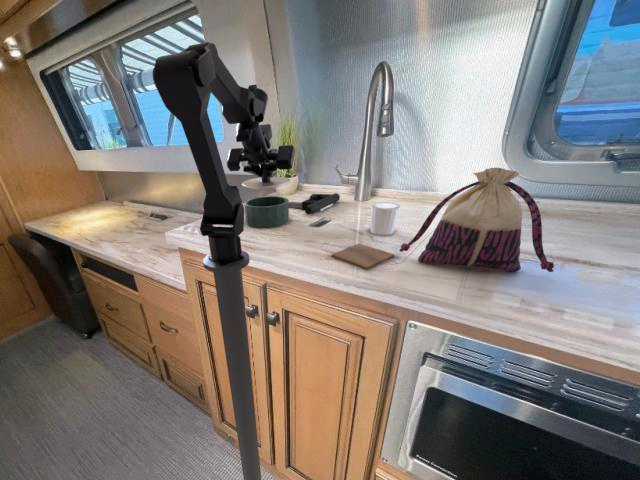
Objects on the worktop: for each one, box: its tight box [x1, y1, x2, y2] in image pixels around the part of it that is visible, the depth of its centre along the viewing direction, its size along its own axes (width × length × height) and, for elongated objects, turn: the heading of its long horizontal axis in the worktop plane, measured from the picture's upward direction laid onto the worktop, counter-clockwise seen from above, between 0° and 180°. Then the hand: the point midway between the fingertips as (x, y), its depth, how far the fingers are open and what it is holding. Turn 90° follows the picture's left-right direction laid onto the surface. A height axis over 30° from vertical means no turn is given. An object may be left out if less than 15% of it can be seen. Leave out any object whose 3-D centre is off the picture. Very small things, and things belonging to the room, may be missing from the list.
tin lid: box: [241, 163, 291, 190], centre depth 92 cm, size 15×15×6 cm
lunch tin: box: [244, 195, 290, 229], centre depth 98 cm, size 14×14×6 cm
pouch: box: [398, 167, 555, 273], centre depth 58 cm, size 25×8×19 cm, turn 63°
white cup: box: [370, 201, 401, 236], centre depth 81 cm, size 7×7×7 cm
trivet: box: [331, 243, 396, 270], centre depth 70 cm, size 10×10×1 cm
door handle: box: [289, 192, 341, 215], centre depth 110 cm, size 3×20×16 cm
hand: (267, 176), depth 94 cm, fingers closed on tin lid, 3 cm apart
